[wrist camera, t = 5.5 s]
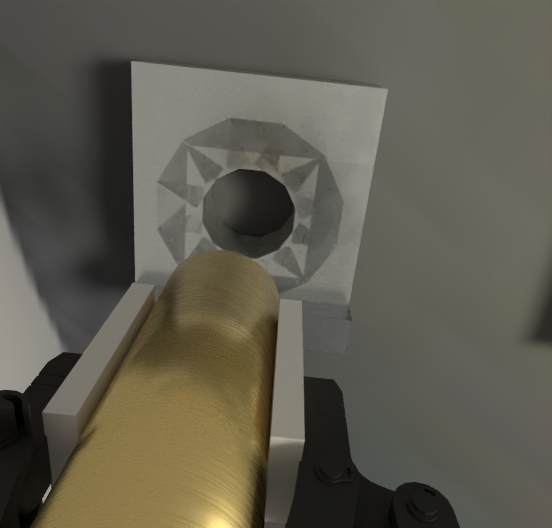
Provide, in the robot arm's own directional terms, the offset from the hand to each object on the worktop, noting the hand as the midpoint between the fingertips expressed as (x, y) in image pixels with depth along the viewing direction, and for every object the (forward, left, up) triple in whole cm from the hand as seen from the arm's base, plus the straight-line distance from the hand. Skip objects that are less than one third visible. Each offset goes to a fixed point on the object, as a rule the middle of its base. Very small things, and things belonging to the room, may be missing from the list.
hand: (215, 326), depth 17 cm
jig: (0, 0, -17) cm, 17 cm away
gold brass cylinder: (0, 0, -2) cm, 2 cm away
